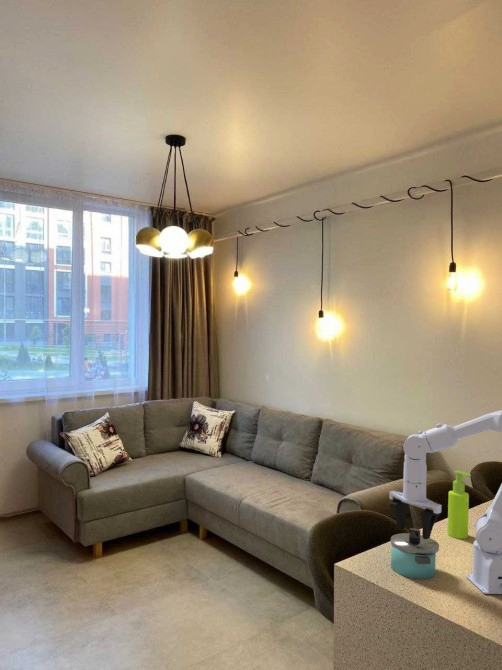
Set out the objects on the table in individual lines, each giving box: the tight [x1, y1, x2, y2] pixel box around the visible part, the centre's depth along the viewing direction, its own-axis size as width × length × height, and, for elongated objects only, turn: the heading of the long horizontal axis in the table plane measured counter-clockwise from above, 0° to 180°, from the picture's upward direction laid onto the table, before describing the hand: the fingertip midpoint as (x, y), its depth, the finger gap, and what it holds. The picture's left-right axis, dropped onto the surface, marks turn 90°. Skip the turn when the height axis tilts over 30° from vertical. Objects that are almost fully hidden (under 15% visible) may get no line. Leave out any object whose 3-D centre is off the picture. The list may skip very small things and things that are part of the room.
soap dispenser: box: [447, 469, 472, 540], centre depth 156 cm, size 6×7×20 cm
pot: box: [390, 544, 437, 580], centre depth 131 cm, size 14×11×6 cm
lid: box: [390, 527, 440, 555], centre depth 131 cm, size 12×12×4 cm
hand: (413, 533), depth 131 cm, fingers open, 7 cm apart
